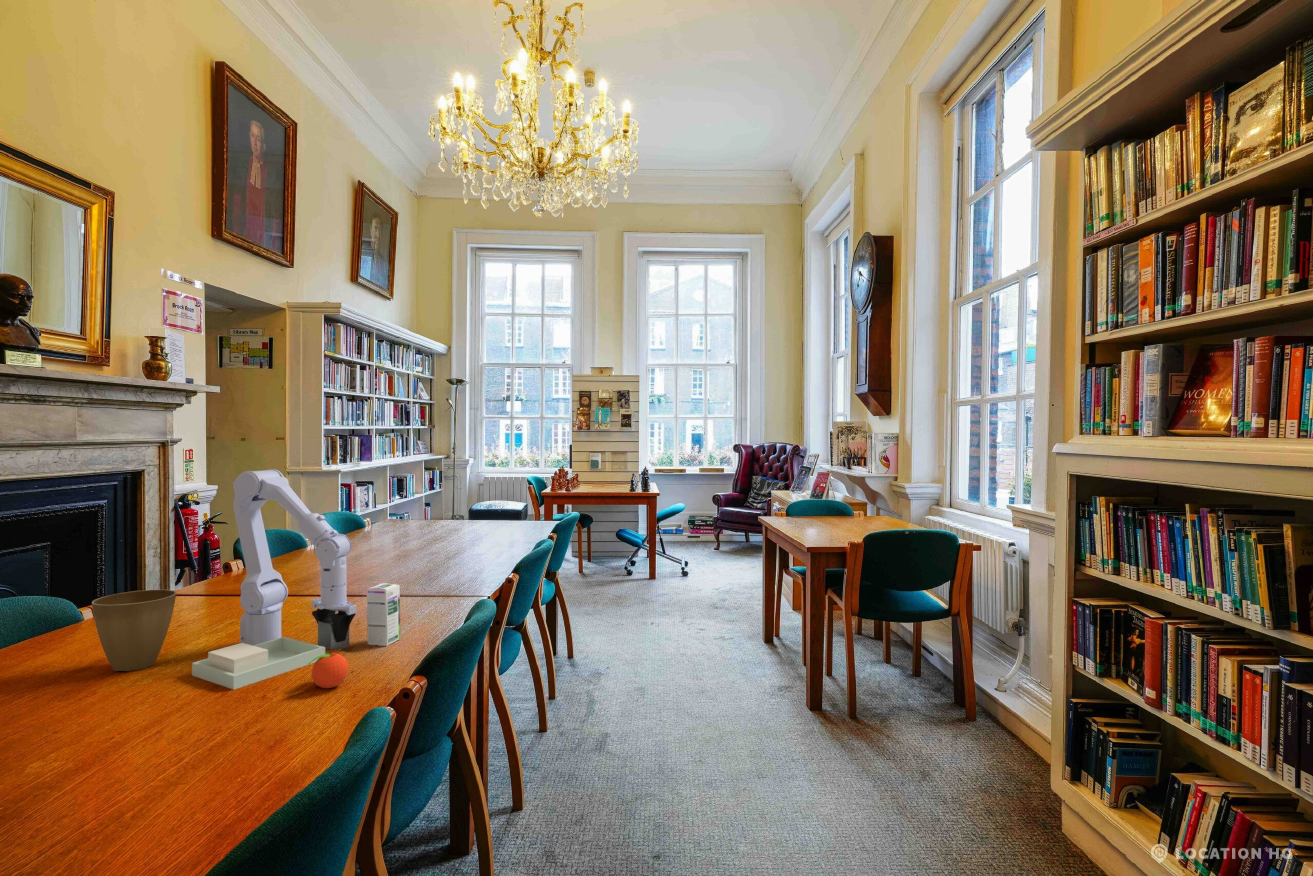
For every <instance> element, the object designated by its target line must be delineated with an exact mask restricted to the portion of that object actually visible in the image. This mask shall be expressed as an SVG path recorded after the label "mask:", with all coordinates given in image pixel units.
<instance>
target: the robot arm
mask: <svg viewBox="0 0 1313 876" xmlns="http://www.w3.org/2000/svg"><path fill="white" fill-rule="evenodd" d="M232 485H233V486H232V487H233V490H234V491H233V492H234V498H233V504H232V507H233V513H234V518H235V522H236V527H237V533H238V537H239V541H240V547H241V551H242V556H243V561H244V565H245V569H246V577H245V578H244V580H243V581H242V583H241V584H240V593H241V594H240V598H239V604H240V607H241V609H242V610H243V611H244V612H243V614H242V615H241V616H240V619H239V643H245V644H249V645H252V646H253V645H256V644H260V643H264V642H267V641H271V640H274V639H278V638H281V637H282V607H283V606H284V605H283V603H284V602H285V601H286V600H287V598H288V595H289V589H288V586H287V584H286V583H285V582H284V580H283V577H282V574H281V573H280V572H278V571H277V570H276V569H274V568H273V567H274V566H273V563H272V558H271V554H270V549H269V544H268V539H267V535H266V531H265V525H264V519H263V516H262V511H261V508H262V507H263V506H264V504H266V502H267V501H268V500H271V501H275V502H277V503H278V504H279V505H280V506H281V507H282V508H284V510H285V511H286V512H287V513H289V515H290V516H292V518H294V520H296V521H297V522H298V523H297V525H298V526H297V529H298V531H299V532H300V533H301V534H302V535H303V536H304V537H305V538H306V539H307V540H308V541H309V542H310V543H311V544H312V546H314V548H315V549H314V552H315V553H314V554H315V556H316V558H317V559H318V561H319V567H320V597H316V598H314V599H311V608H316V609H315V610H313V611H311V616H312V617H313V618H314V619H315V622H316V624H317V625H318V621H321V620H325V619H328V618H331V619H332V622H333V624H334V629H335V638H336V642H342V641H345V640H346V636H347V633H348V629H349V630H350V626H351V623H352V621H353V619H354V618H355V616H356V614H357V604H353V603H352V602H350V601H348V600H347V592H348V591H347V589H348V588H347V587H348V586H347V582H348V581H347V580H348V579H347V577H348V576H347V575H348V573H347V570H348V568H347V565H348V564H347V559H348V558H347V556H348V555H349V554H350V553H351V550H352V542H351V540H350V538H349V536H348V535H345V534H343V533H339V532H338V531H337V530H336V529H334V528H333V527H332V526H331V525H330V524H329V523H328V521H326V517H325V516H324V514H321V515H320V513H318V512H311V510H310V509H308V507H307V506H306V504H304V502H303V500H301V498H300V497H299V496H298V495H297V494H296V493H295V491H294V490H293V489H292V487H291V486H290V483H289V479H288V478H286V476H284V475H283V473H282V472H281V471H279V470H278V469H275V468H272V469H271V468H270V469H266V470H253V471H252V470H246V471H242V472H241V473H239V475H238V476H237V477H236V479H235V480H234V481H233V482H232ZM336 612H337V613H336Z"/></svg>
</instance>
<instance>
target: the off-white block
mask: <svg viewBox="0 0 1313 876" xmlns="http://www.w3.org/2000/svg"><path fill="white" fill-rule="evenodd" d="M207 658H208V666H211V667H214V668H218V669H221V670H224V671H227V672H230V673H233V674H238V673H241V672H245V671H248V670H251V669H254V668H257V667H260V666H263V665H267V664H268V650H267V649H263V648H260V647H256V646H252V645H249V644H245V643H240V642H239V643H236V644H233V645H229V646H225V647H221V648H218V649H215V650H211V651H208V653H207Z"/></svg>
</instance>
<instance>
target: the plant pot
mask: <svg viewBox="0 0 1313 876" xmlns="http://www.w3.org/2000/svg"><path fill="white" fill-rule="evenodd" d="M176 596H177V591H175V590H172V589H144V590H134V591H133V590H132V591H127V592H120V593H113V594H109V595H106V596H102V597H99V598H96V599H93V600H92V602H91V608H92V614H93V620H94V623H95V628H96V631H97V635H98V638H99V641H100V644H101V647H102V650H103V651H104V654H105V657H106V658H107V661H108V663H109V665H110V667H111V669H112V671H114V670H115V671H114V672H117V671H127V672H134V671H139V670H143V669H146V668H149V667H151V666H153V665H155V663H156V661H157V659H158V658H159V657H158V656H159V655H160V652H161V650H162V648H163V644H164V642H165V639H166V637H167V633H168V631H169V627H170V624H171V621H172V617H173V612H174V609H175V607H174V606H175V602H176V598H177V597H176ZM133 670H134V671H133Z"/></svg>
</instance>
